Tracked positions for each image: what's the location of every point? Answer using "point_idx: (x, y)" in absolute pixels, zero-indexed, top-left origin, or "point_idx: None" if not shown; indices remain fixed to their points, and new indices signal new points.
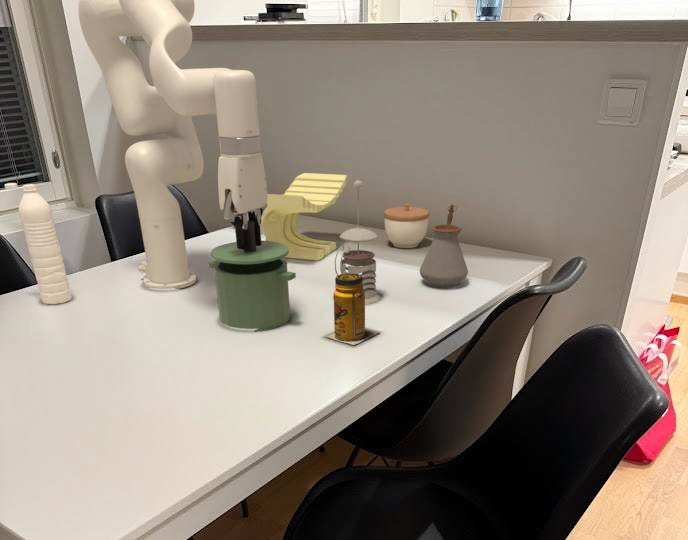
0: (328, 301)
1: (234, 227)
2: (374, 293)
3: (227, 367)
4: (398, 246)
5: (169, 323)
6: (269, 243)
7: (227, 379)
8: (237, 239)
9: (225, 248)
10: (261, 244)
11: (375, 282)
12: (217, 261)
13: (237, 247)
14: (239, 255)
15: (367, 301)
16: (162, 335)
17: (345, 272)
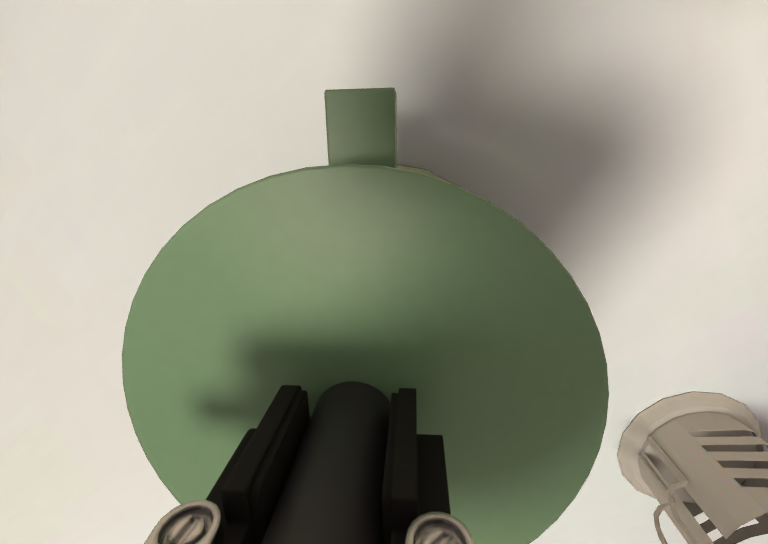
0: (621, 389)
1: (170, 526)
2: (695, 506)
3: (105, 393)
4: None
5: (206, 39)
6: (547, 437)
7: (67, 423)
8: (235, 451)
9: (311, 254)
10: (505, 407)
11: (732, 534)
12: (378, 119)
13: (283, 386)
14: (233, 423)
15: (644, 492)
16: (125, 102)
17: (704, 511)
